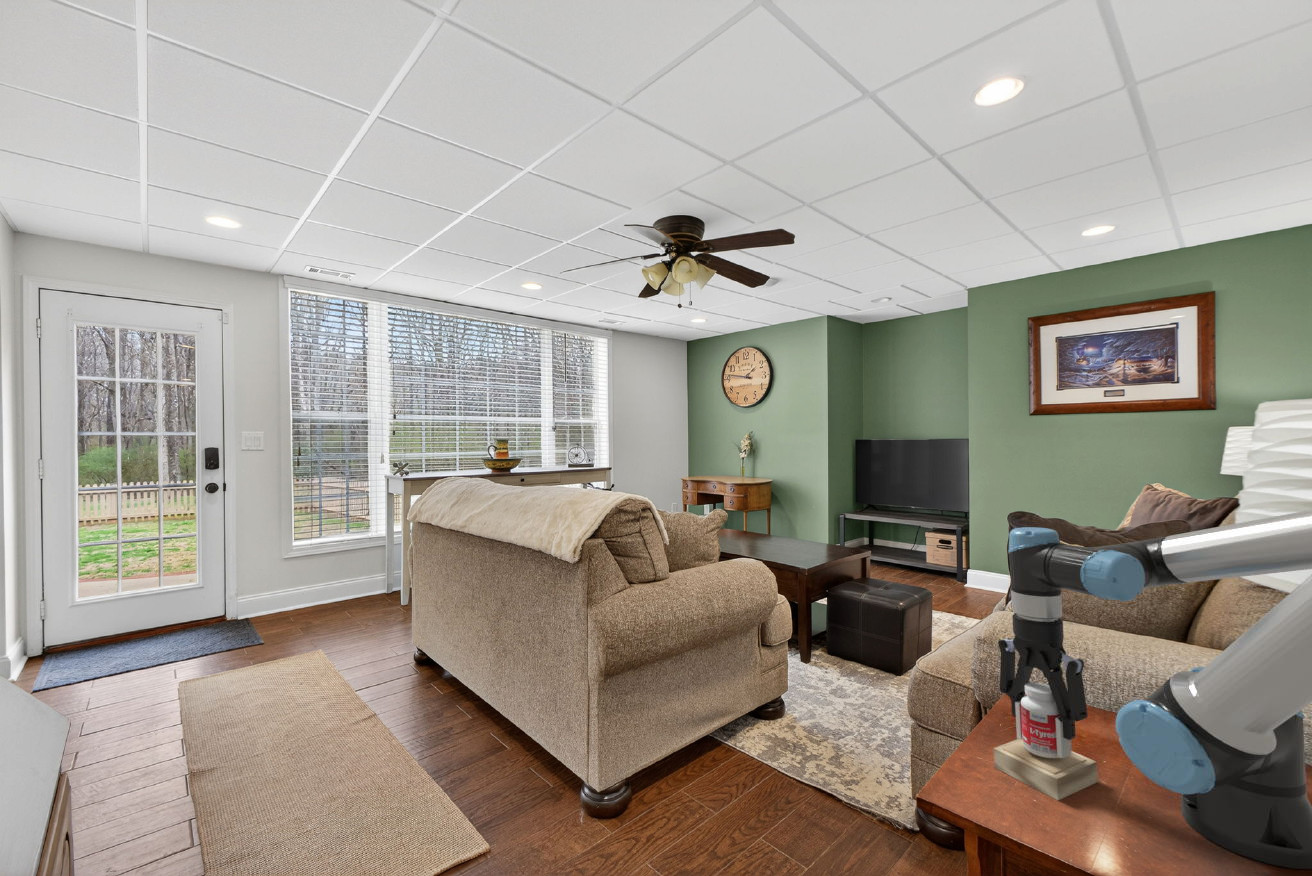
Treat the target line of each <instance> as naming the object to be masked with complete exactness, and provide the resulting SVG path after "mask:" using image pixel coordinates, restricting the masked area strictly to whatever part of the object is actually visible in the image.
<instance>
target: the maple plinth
mask: <svg viewBox="0 0 1312 876" xmlns="http://www.w3.org/2000/svg"><path fill="white" fill-rule="evenodd" d="M1071 752H1072V754H1071V755H1069V756H1067V757H1064V758H1045V757H1041V756H1038V755H1035V754H1033V753H1031V752H1029V751H1028V750H1027V749H1026V748H1025V747H1024V746H1023V740H1020V739H1018V738H1016V739H1014V740H1011V741H1008V742H1007V743H1004V744H1000V745H999V746H996V747H995V746H994V747H993V762H994V763H993V766H994V769H995V770H998V771H1000V772H1003V773H1005V774H1006V775H1008V776H1010V777H1011V778H1014V779H1016V780H1017V781H1020V782H1022V783H1024V784H1026V785H1027V786H1029V787H1031V788H1033V789H1035V790H1037V791H1039V792H1041V793H1043V794H1045V795H1046V796H1049V797H1051V798H1053V799H1054V800H1056V801H1060V800H1063V799H1065V798H1066V797H1069V796H1070V795H1071V796H1072V795H1073V794H1076V793H1077V792H1080V791H1082V790H1083V789H1085V788H1086V789H1087V787H1090V786H1093V785H1095V784H1096V783H1098V770H1097V769H1098V767H1097V761H1096V760H1093V759H1091V758H1089V757H1086V756H1085V755H1082V754H1080V753H1077V752H1075V751H1073V750H1071Z"/></svg>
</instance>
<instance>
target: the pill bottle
mask: <svg viewBox="0 0 1312 876" xmlns="http://www.w3.org/2000/svg"><path fill="white" fill-rule="evenodd" d="M1057 717H1060V714H1059V712H1058V709H1057V706H1056V703H1055V700H1054V697H1053V695H1052V692H1051V689H1050V686H1049V684H1046V683H1041V682H1029V683H1027V684H1025V695H1024V697H1023V698H1022V699H1021V718H1022V740H1023V746H1024V747H1025V748H1026V749H1027V750H1028V751H1029V752H1031V753H1033V754H1035V755H1038V756H1041V757H1045V758H1060V757H1058V756H1057V740H1056V720H1055V718H1057Z"/></svg>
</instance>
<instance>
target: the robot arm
mask: <svg viewBox="0 0 1312 876" xmlns="http://www.w3.org/2000/svg"><path fill="white" fill-rule="evenodd" d="M1008 560H1009V570H1010V586H1011V587H1010V595H1011V596H1010V597H1011V598H1010V599H1011V601H1010V602H1011V611H1012V612H1013V613H1014V614H1013V615H1011V616H1012V617H1011V618H1012V632H1013V634H1014V638H1013V639H1011V637H1010V638H1004V639H1000V640H998V643H997V644H998V647H999V651H1000V665H999V666H1000V668H999V669H1000V671H999V691H1000V693H1002V694H1005V695H1007V696H1008V697H1009V699H1010V703H1011V704H1010V705H1011V715H1012V717H1013V718H1015V727H1016V739H1020V740H1022V718H1021V699H1022V698H1023V697H1024V696H1026V694H1025V684H1027V683H1030V679H1031V676H1032V673H1033V670H1034V668H1035V669H1037V670H1039V671H1041V672H1042V675H1043V677H1044V678H1045V679H1046V680H1047V682H1048V683H1047V684H1048V685H1049V686H1050V689H1051V692H1052V695H1053V697H1054V700H1055V703H1056V706H1057V709H1058V712H1059V714H1060V717H1057V718H1055V720H1056V740H1057V756H1058V757H1060V758H1064V757H1067V756H1069V755H1071V754H1072V752H1071V751H1072V740H1073V739H1075V737H1076V736H1077V735H1076V722H1079V721H1082V720H1084V719H1087V718H1088V716H1089V715H1088V708H1087V703H1086V702H1087V701H1086V694H1085V688H1084V680H1083V679H1084V678H1083V671H1084V667H1085V662H1084V660H1083V659H1082V658H1077V659H1075V658H1073V657H1071V656H1069V655H1068V654H1067V652H1066V650H1065V649H1064V646H1063V644H1064V640H1065V639H1064V638H1065V637H1064V636H1065V635H1064V633H1065V632H1064V621H1063V619H1062V618H1061V617H1063V603H1062V601H1063V600H1062V590H1067V591H1070V592H1075V593H1079V594H1084V595H1087V596H1093V597H1096V598H1100V599H1102V600H1107V601H1108V600H1113V601H1118V602H1130V601H1132V600H1135V599H1136V598H1137V595H1140V594H1141V593H1142V591H1143V589H1147V588H1149V589H1150V588H1155V587H1163V586H1173V585H1182V584H1189V583H1197V582H1206V581H1214V580H1224V579H1230V578H1231V579H1233V578H1243V577H1249V576H1250V577H1251V576H1259V575H1268V574H1269V575H1270V574H1278V573H1279V574H1280V573H1286V572H1289V573H1290V572H1295V571H1296V572H1297V571H1305V570H1312V509H1308V510H1303V511H1299V512H1293V513H1291V512H1290V513H1287V514H1281V515H1277V516H1270V517H1264V518H1260V519H1254V520H1248V521H1244V522H1243V521H1242V522H1237V523H1233V524H1228V525H1227V524H1226V525H1222V526H1221V525H1220V526H1216V527H1210V528H1205V529H1200V530H1194V531H1189V532H1184V533H1179V534H1178V533H1177V534H1173V535H1168V536H1160V537H1155V538H1150V539H1145V540H1139V541H1138V540H1137V541H1131V542H1126V543H1117V544H1111V545H1110V544H1109V545H1102V546H1101V545H1100V546H1094V547H1089V546H1079V545H1071V544H1068V543H1067V544H1065V543H1061V540H1060V538H1059V533H1058V531H1057V530H1055V529H1053V528H1052V529H1051V528H1046V527H1033V526H1032V527H1029V526H1028V527H1027V526H1025V527H1015V528H1013V529H1011V531H1010V532H1009V539H1008ZM1016 652H1017V653H1018V655H1019V658H1018V661H1017V669H1016ZM1061 663H1063V668H1064V670H1065V680H1066V682H1065V680H1064V677H1063V674H1064V672H1063V669H1062V666H1061ZM1311 704H1312V574H1310V575H1309V576H1308V577H1307V578H1306V579H1304V581H1302V582H1301V583H1300V584H1299V585H1298V586H1297V587H1295V588H1294V589H1293V590H1292V591H1291V592H1290V593H1288V594H1287V595H1286V596H1285V597H1284V598H1282V600H1281V601H1279V602H1278V603H1277V604H1276V605H1275V606H1273V607H1272V608H1271V609H1270V610H1269V611H1267V613H1266V614H1264V615H1263V616H1262V617H1261V618H1260V619H1259V620H1257V621H1256V622H1255V623H1254V624H1253V625H1251V626H1250V627H1249V628H1248V629H1247V630H1246V631H1245V632H1243V633H1242V634H1241V635H1240V636H1239V637H1238V638H1237V639H1235V641H1233V642H1232V643H1231V644H1230V645H1229V646H1227V647H1226V648H1225V649H1224V650H1223V651H1222V652H1220V653H1219V654H1218V655H1217V656H1215V658H1214V659H1212V660H1211V661H1210V662H1209V663H1208V664H1207V665H1206V666H1196V667H1193V668H1191V669H1190V670H1181V671H1178V672H1176V673H1174V674H1173V675H1171V676H1170V677H1169V678H1168V679H1167V680H1166V681H1165V682H1164V683H1162V685H1160V686H1159V687H1158V688H1157V689H1156V690H1154V691H1153V693H1151V694H1150V695H1149V696H1147V697H1145V698H1143V699H1135V700H1134V699H1133V700H1132V701H1129V702H1128V703H1127V704H1125V705H1124V706H1122V707H1121V708H1120V710H1118V712H1117V714H1116V716H1115V717H1116V718H1115V730H1116V733H1117V734H1118V737H1119V739H1118V741H1119V744H1120V746H1121V747H1122V750H1123V751H1124V753H1125V755H1126V756H1127V758H1128V759H1129V761H1130V762H1131V763H1132V764H1133V765H1134V766H1135V767H1136V768H1137V769H1138V771H1140V772H1141V773H1142V774H1143V775H1144V776H1145V777H1146V778H1148V779H1149V780H1150V781H1152V782H1153V783H1154V784H1156V785H1158V786H1160V787H1161V788H1164V789H1166V790H1169V791H1171V792H1173V793H1176V794H1181V797H1180V806H1181V815H1182V818H1183V819H1184V820H1185V822H1186V823H1187V824H1188V825H1189V826H1190V827H1191V828H1192V829H1193V830H1195V831H1196V832H1197V833H1198V834H1200V835H1202V836H1203V837H1205V838H1206V839H1207V840H1209V841H1211V842H1213V843H1215V844H1216V845H1219V846H1221V847H1222V848H1225V849H1227V850H1229V851H1232V852H1234V853H1236V854H1238V855H1241V856H1243V857H1247V858H1248V859H1252V860H1255V861H1258V862H1262V863H1265V864H1269V865H1273V866H1277V867H1278V866H1279V867H1283V868H1289V869H1296V870H1297V869H1299V870H1311V869H1312V805H1311V802H1310V800H1309V798H1308V795H1307V794H1308V793H1307V783H1306V782H1307V781H1306V780H1307V779H1306V778H1307V777H1306V758H1305V757H1306V756H1305V754H1306V753H1305V735H1304V734H1305V733H1304V731H1305V730H1304V719H1305V714H1303V709H1304V708H1306V707H1307V706H1309V705H1311Z"/></svg>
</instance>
